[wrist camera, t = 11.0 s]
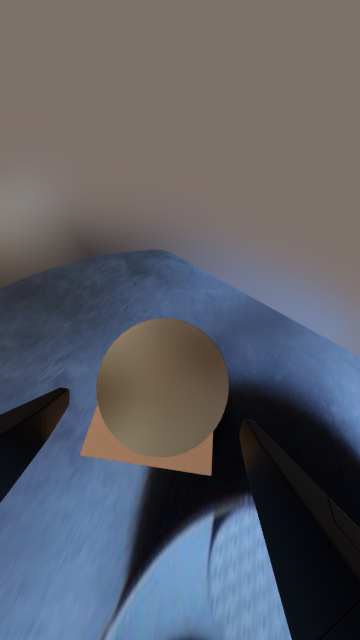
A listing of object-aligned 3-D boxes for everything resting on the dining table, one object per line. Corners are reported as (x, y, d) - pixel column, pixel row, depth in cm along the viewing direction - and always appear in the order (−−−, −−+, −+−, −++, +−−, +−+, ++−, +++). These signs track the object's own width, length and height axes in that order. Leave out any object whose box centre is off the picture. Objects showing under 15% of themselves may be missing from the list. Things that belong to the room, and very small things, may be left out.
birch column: (192, 403, 18) (255, 399, 6) (148, 434, 16) (132, 503, 5) (168, 362, 20) (185, 300, 8) (126, 386, 18) (75, 351, 6)
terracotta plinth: (209, 357, 24) (216, 350, 21) (203, 466, 18) (211, 475, 15) (125, 342, 23) (122, 333, 21) (91, 448, 18) (79, 455, 15)
